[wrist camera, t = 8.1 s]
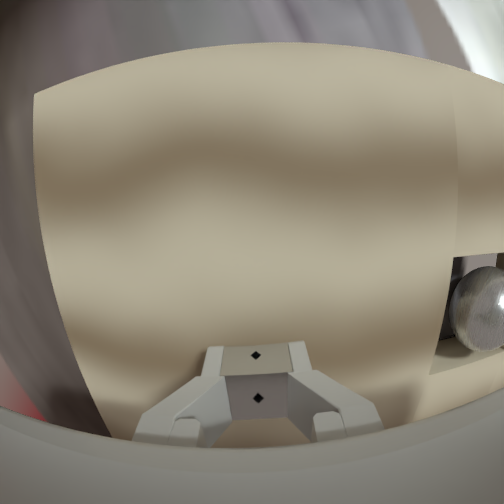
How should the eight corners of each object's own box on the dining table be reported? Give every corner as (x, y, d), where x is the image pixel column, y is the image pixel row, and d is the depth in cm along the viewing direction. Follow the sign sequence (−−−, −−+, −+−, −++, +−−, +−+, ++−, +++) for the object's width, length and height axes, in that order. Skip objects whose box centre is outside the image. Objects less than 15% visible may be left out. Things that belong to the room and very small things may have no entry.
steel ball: (444, 271, 11) (526, 298, 7) (470, 248, 12) (535, 267, 9) (428, 349, 12) (495, 380, 9) (458, 315, 14) (514, 338, 10)
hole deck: (67, 103, 10) (34, 94, 8) (544, 119, 10) (571, 119, 7) (144, 447, 15) (135, 475, 13) (497, 396, 15) (512, 414, 12)
